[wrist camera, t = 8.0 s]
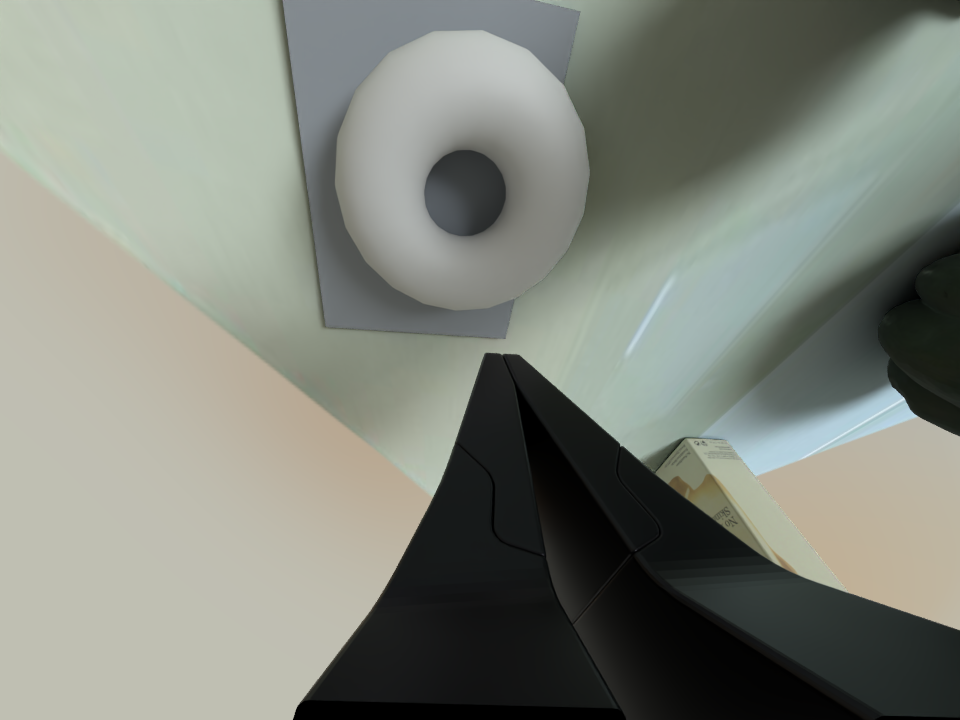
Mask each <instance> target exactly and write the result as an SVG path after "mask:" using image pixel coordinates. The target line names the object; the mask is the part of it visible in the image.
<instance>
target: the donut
mask: <svg viewBox="0 0 960 720" xmlns="http://www.w3.org/2000/svg"><path fill="white" fill-rule="evenodd" d="M456 150H473V151H476V152H479V153H482V154H484V155H485V156H487V157H488V158H489V159H491V160H492V161H493V162H494V163H495V164H496V166H497V167H498V169H499V170H500V172H501V173H502V175H503V179H504V182H505V186H506V200H505V203H504V206H503V209H502V212H501V214H500V215H499V217H498V218H497V220H496V221H495V223H494V224H492V225H491V226H490V227H489V228H487V229H486V230H485V231H483V232H480V233H478V234H475V235H473V236H458V235H454V234H450V233H448V232H446V231H445V230H443V229H441V228H440V227H438V226H437V225H436V223H435V222H434V221H433V220H432V219H431V217H430V215H429V213H428V211H427V208H426V205H425V196H424V190H425V184H426V179H427V177H428V175H429V173H430V171H431V169H432V167H433V165H435V164H436V163H437V162H438V161H439V160H440V159H441V158H442V157H443V156H445V155H447V154H449V153H452V152H454V151H456ZM589 177H590V168H589V160H588V153H587V145H586V138H585V130H584V127H583V125H582V122H581V120H580V118H579V116H578V114H577V112H576V110H575V108H574V105H573V103H572V101H571V99H570V97H569V95H568V93H567V91H566V88H565V86H564V85H563V84H562V83H561V82H560V81H559V80H558V79H557V78H556V77H555V76H554V75H553V74H552V73H551V72H550V71H549V70H548V69H547V68H546V67H545V66H544V65H543V64H542V63H541V62H540V61H539V60H538V59H537V58H536V57H535V56H534V55H533V54H532V53H531V52H530V51H529V50H528V49H526V48H523V47H521V46H519V45H516V44H514V43H512V42H509V41H507V40H505V39H502V38H500V37H498V36H495V35H493V34H491V33H488V32H486V31H483V30H465V31H433V32H431V33H428V34H426V35H424V36H422V37H420V38H418V39H416V40H414V41H412V42H410V43H407V44H405V45H403V46H401V47H399V48H397V49H395V50H393V51H391V52H389V53H388V54H387V55H386V56H385V57H384V58H383V59H382V61H381V62H380V63H379V64H378V65H377V66H376V67H375V68H374V70H373V71H372V72H371V73H370V74H369V75H368V76H367V77H366V78H365V80H364V81H363V82H362V83H361V84H360V85H359V86H358V87H357V89H356V90H355V93H354V95H353V98H352V100H351V103H350V105H349V108H348V110H347V113H346V116H345V118H344V121H343V123H342V126H341V128H340V131H339V133H338V137H337V151H336V171H335V188H336V192H337V196H338V200H339V204H340V208H341V212H342V215H343V219H344V223H345V227H346V229H347V231H348V232H349V234H350V236H351V238H352V239H353V241H354V243H355V244H356V246H357V248H358V250H359V251H360V253H361V255H362V256H363V258H364V260H365V261H366V263H367V264H368V265H370V266H371V267H372V268H373V269H374V270H375V271H376V272H377V273H378V274H379V275H380V276H381V277H382V278H383V279H384V280H385V281H386V282H387V283H388V284H389V285H391V286H392V287H393V288H395V289H396V290H398V291H400V292H402V293H404V294H406V295H408V296H410V297H412V298H414V299H416V300H417V301H419V302H421V303H423V304H427V305H431V306H436V307H441V308H446V309H451V310H456V311H458V310H472V309H485V308H490V307H493V306H495V305H498V304H501V303H504V302H506V301H509V300H512V299H515V298H518V297H519V296H520V295H522V294H523V293H525V292H526V291H527V290H529V289H530V288H532V287H533V286H534V285H536V284H537V283H539V282H540V281H542V280H543V279H544V278H545V277H546V276H547V275H548V274H549V272H550V271H551V270H552V269H553V268H554V266H555V265H556V264H557V263H558V261H559V260H560V259H561V258H562V257H563V255H564V254H565V253H566V252H567V250H568V249H569V246H570V244H571V242H572V240H573V237H574V235H575V233H576V231H577V228H578V226H579V224H580V222H581V219H582V217H583V215H584V210H585V204H586V197H587V190H588V184H589Z"/></svg>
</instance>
